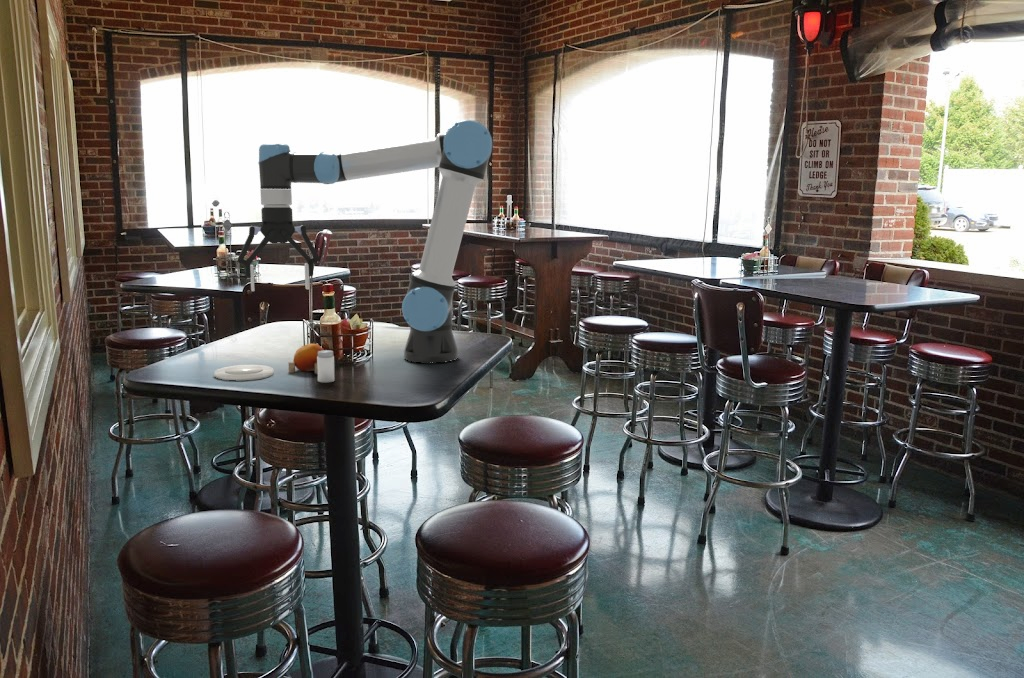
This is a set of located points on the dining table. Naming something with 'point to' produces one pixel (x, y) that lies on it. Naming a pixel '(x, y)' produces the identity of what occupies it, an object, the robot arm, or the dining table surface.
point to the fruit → (307, 357)
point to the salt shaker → (325, 366)
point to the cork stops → (292, 367)
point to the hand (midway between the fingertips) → (280, 290)
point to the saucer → (243, 372)
